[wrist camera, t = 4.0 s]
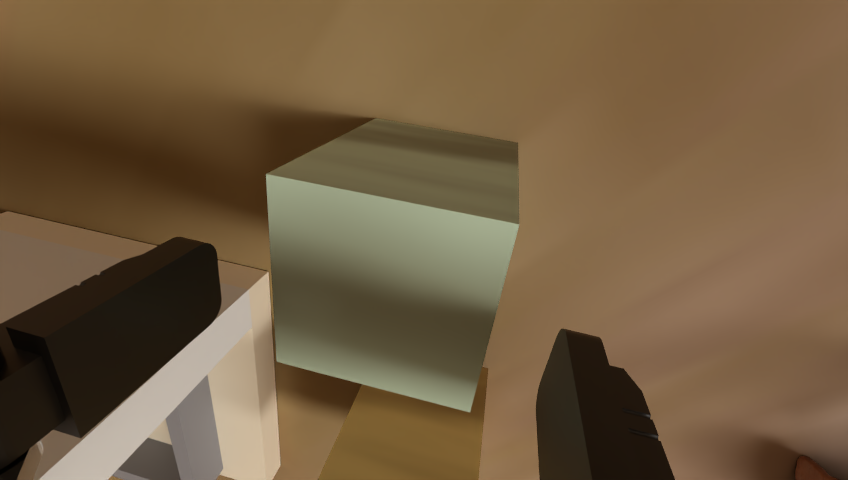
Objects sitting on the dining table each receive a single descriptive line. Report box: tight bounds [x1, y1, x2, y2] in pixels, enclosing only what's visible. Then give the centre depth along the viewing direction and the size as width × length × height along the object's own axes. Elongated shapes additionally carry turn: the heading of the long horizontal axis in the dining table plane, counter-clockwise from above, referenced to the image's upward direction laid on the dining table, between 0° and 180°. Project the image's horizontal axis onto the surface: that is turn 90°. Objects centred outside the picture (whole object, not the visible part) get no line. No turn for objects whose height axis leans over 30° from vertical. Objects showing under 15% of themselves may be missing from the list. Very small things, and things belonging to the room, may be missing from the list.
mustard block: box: [318, 367, 488, 480], centre depth 16 cm, size 5×5×7 cm
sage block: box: [266, 118, 519, 412], centre depth 12 cm, size 5×5×7 cm
